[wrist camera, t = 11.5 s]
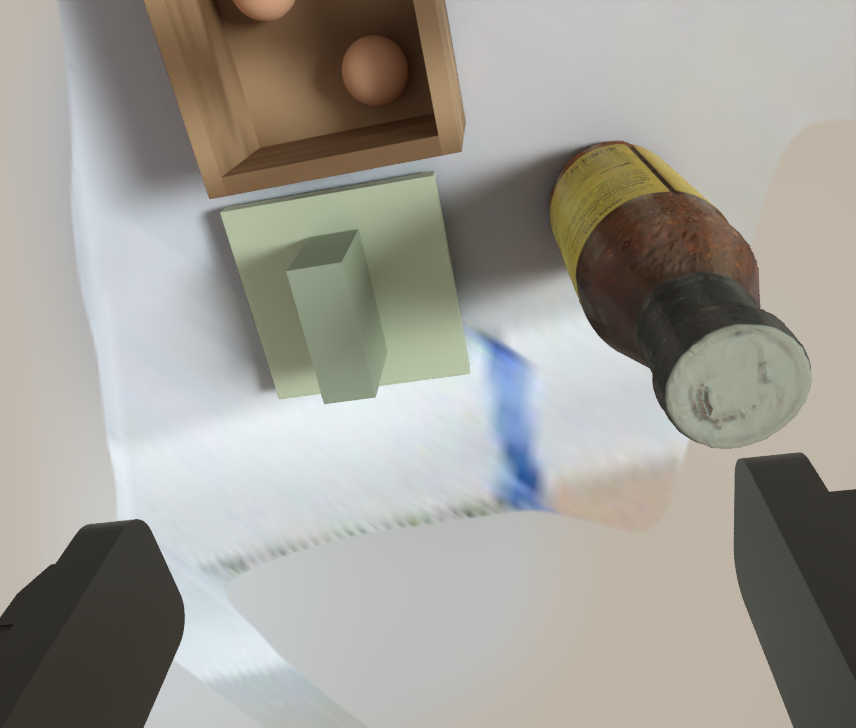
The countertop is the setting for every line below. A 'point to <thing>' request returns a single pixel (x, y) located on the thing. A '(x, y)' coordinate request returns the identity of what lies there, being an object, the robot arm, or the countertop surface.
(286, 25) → the box
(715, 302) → the sauce bottle
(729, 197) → the countertop surface
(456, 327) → the lid
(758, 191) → the countertop surface
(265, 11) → the ball
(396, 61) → the ball
